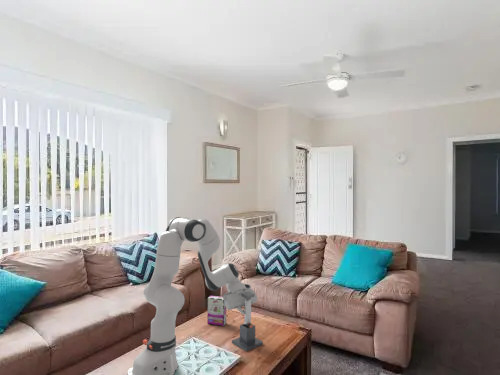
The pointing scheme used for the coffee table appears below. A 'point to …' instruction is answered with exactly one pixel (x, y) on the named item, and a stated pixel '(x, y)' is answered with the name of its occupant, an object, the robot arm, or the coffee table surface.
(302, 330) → the coffee table surface
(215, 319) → the candy bar box
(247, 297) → the steel post
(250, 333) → the jack stand base
